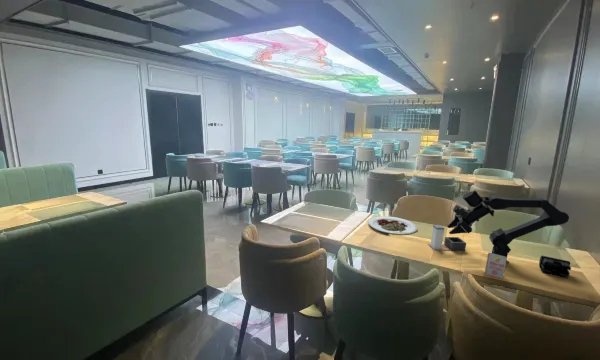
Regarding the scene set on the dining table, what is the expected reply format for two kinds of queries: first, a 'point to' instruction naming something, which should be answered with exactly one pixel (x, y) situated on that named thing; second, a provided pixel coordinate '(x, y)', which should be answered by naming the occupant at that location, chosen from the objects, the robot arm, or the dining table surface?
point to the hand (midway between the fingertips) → (448, 230)
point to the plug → (437, 236)
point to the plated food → (392, 225)
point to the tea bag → (495, 265)
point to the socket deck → (452, 244)
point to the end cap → (554, 266)
